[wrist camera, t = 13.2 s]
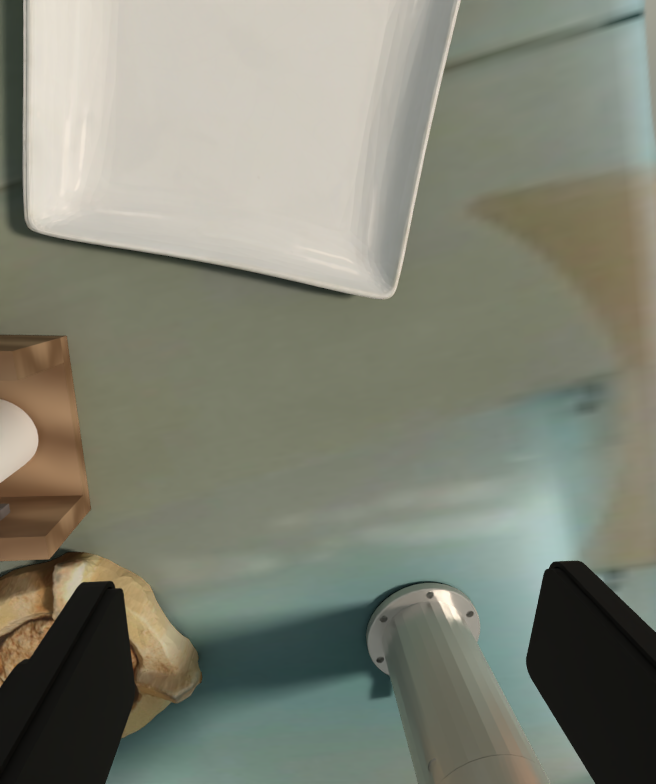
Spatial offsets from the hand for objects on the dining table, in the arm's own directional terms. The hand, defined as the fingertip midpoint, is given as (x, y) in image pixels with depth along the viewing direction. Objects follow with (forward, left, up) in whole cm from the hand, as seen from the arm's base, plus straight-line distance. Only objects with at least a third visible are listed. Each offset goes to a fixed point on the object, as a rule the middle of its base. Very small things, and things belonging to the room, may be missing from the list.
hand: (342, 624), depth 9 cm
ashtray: (-30, +22, -29) cm, 47 cm away
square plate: (+21, +4, -29) cm, 36 cm away
